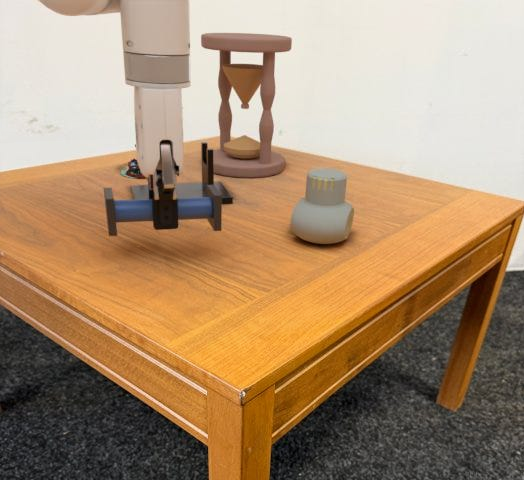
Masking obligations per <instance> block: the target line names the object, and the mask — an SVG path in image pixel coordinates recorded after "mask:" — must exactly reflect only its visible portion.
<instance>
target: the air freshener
mask: <svg viewBox="0 0 524 480" xmlns="http://www.w3.org/2000/svg"><path fill="white" fill-rule="evenodd" d="M347 181H348V175H347V174H346V173H345V172H344V171H343V170H340V169H336V168H327V167H326V168H325V167H319V168H313V169H310V170H309V171H308V172H307V173H306V182H305V195H304V197H303V198H301V199H299V200H298V201H297V202H296V204H295V205H294V207H293V210H292V213H291V217H290V230H291V232H292V233H293V234H294V235H295V236H296V237H298V238H300V239H302V240H303V241H306V242H309V243H311V244H317V245H333V244H337V243H341V242H343V241H345V240H347V239H348V237H349V235H350V233H351V230H352V226H353V222H354V218H355V217H354V216H355V207H354V206H353V205H351V203H349V202H348V201H347V200H345V199H346V193H347Z"/></svg>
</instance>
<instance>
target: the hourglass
mask: <svg viewBox="0 0 524 480" xmlns="http://www.w3.org/2000/svg"><path fill="white" fill-rule="evenodd" d="M292 43H293V39H292V37H290V36H287V35H278V34H266V33H250V32H249V33H245V32H207V33H202V34H201V35H200V44H201V47H202V48H203V49H207V50H212V51H218V52H219V68H218V69H219V70H218V77H217V87H218V91H219V95H220V99H221V101H220V105H219V110H218V114H217V115H218V117H217V118H218V127H219V149H213V165H214V175H215V174H216V175H218V176H219V175H220V176H223V177H231V178H240V179H241V178H242V179H243V178H245V179H255V178H267V177H272V176H276V175H278V174H281V173H282V172H284V169H285V166H286V158H285V157H284V156H283V155H282V154H280V153H278V152H276V151H274V150H273V151H272V141H273V137H274V129H275V123H274V118H273V113H272V107H273V104H274V101H275V96H276V80H275V79H276V77H275V68H276V67H275V66H276V65H275V64H276V53H287V52H290V51H291V50H292ZM232 52H233V53H253V54H255V53H256V54H257V53H259V54H260V53H261V54H262V64H255V63H254V64H253V63H232ZM232 89H233V90H234V92H235V93H236V95H237V97H238V99H239V101H240V102H241V104H240V109H242V110H248V109H250V104H249V103H250V102H251V100H252V98H253V97H254V95H255V94H256V92H257V91H258V89H259V95H260V100H261V105H262V106H261V107H262V112H261V116H260V120H259V125H258V134H259V140H256V139H254V138H252V137H249V135H248V136H247V134H246V135H245V134H243V135H241V136H239V137H237V138H234V139H232V140H231V133H232V132H231V131H232V124H233V114H232V109H231V104H230V97H231V95H232Z"/></svg>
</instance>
